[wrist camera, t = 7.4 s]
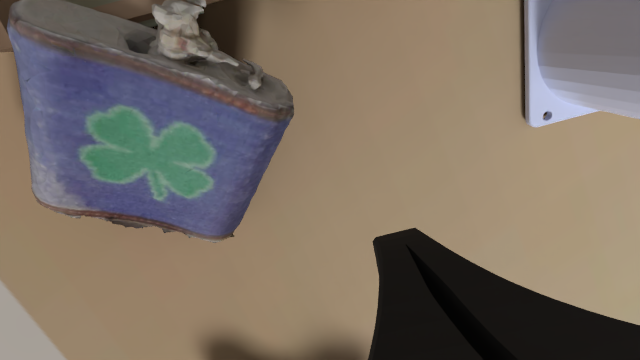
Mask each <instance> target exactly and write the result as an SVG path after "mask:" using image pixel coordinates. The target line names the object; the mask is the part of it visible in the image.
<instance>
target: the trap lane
mask: <svg viewBox="0 0 640 360" xmlns="http://www.w3.org/2000/svg"><path fill="white" fill-rule="evenodd" d="M18 1H20V0H0V52H14V51H13V47H12V44H11V41H10V38H9V35H8V30H7V24H8V19H9V10H10V7H11V5H12V4H13V3H15V2H18ZM64 1H67V2H70V3H73V4H77V5H80V6H84V7H87V8H91V9H94V10H96V11H99V12H103V13H106V14H110V15H113V16H117V17H120V18H123V19H126V20H130V21H133V22H137V23H140V24H142V25H145V26H147V27H154V26H158V24H157V23H156V22H155V17H154V16H153V14H152V5H153V4H158V5H162V4H163V2H164V1H165V0H64ZM181 1H184V2H187V1H186V0H181ZM205 1H206V5H207V4H210V3H214V2H218V1H222V0H205ZM187 3H188V2H187ZM193 5H196V6H199V7H201V8H202V6H200V5H198V4H193ZM202 9H203V8H202ZM203 13H204V11H201V12H199V14H203Z"/></svg>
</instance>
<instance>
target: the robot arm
mask: <svg viewBox="0 0 640 360" xmlns="http://www.w3.org/2000/svg"><path fill="white" fill-rule="evenodd" d="M524 22H525V118H526V123H527V124H528V125H530V126H533V127H539V126H543V125H547V124H551V123H554V122H558V121H562V120H566V119H570V118H573V117H577V116H581V115H585V114H589V113H592V112H596V111H605V112H609V113H614V114H619V115H623V116H628V117H632V118H637V119H640V0H524ZM545 112H547V116H546V117H545V118H544V119H543V114H544V113H545ZM373 246H374V251H375V256H376V262H377V267H378V272H379V297H378V309H377V317H376V324H375V330H374V335H373V340H372V345H371V349H370V354H369V358H368V360H640V325H636V324H632V323H628V322H625V321H621V320H617V319H614V318H610V317H607V316H604V315H600V314H597V313H594V312H590V311H587V310H584V309H581V308H578V307H575V306H573V305H570V304H567V303H564V302H561V301H558V300H555V299H552V298H550V297H547V296H544V295H542V294H539V293H537V292H534V291H532V290H529V289H527V288H525V287H522V286H520V285H517V284H515V283H513V282H510V281H508V280H506V279H504V278H502V277H499V276H497V275H495V274H493V273H491V272H489V271H488V270H486V269H484V268H482V267H480V266H478V265H476V264H474V263H472V262H470V261H468V260H467V259H465V258H463V257H461V256H460V255H458V254H456V253H454V252H453V251H451V250H449V249H448V248H446V247H445V246H443V245H441V244H440V243H438V242H436V241H435V240H433V239H432V238H430V237H429V236H427V235H425V234H424V233H422V232H421V231H419V230H418V229H416V228H412V229H408V230H403V231H399V232H395V233H391V234H387V235H383V236H379V237H376V238H375V239H374V240H373Z"/></svg>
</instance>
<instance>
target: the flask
mask: <svg viewBox="0 0 640 360" xmlns="http://www.w3.org/2000/svg"><path fill="white" fill-rule="evenodd" d="M186 1H187V2H188V3H187V2H184V1H181V0H165V1H164V2H163V4H162V5H158V4H153V5H152V14H153V16H154V17H155V22H156V23H157V24H158V29H154V28H150V27H147V26H145V25H142V24H140V23H137V22H133V21H130V20H126V19H123V18H120V17H117V16H113V15H110V14H106V13H103V12H99V11H96V10H94V9H91V8H87V7H84V6H80V5H77V4H73V3H70V2H67V1H64V0H20V1H18V2H15V3H13V4H12V5H11V7H10V10H9V19H8V24H7V30H8V35H9V38H10V41H11V44H12V47H13V51H14V55H15V60H16V65H17V71H18V78H19V83H20V91H21V99H22V104H23V108H24V115H25V134H26V140H27V143H28V149H29V157H30V169H31V179H32V191H33V194H34V196H35V198H36V199H37V202H38V203H40V204H41V205H42V206H44V207H46V208H49V209H51V210H53V211H55V212H57V213H61V214H65V215H68V216H70V217H75V218H81V215H85V216H91V217H94V218H99V219H104V220H106V221H112V223H113V224H120V225H123V226H125V227H134V228H141V227H142V228H143V226H144V227H150V226H155V227H156V226H157V227H159V228H162V230H163V231H164V233H166V232H174V231H177V232H182V233H184V234H185V235H187V236H189V238H190V237H196V238H200V239H202V240H207V241H210V242H213V243H216V242H220V241H223V240H224V239H227V238H228V237H234V235H233V232H234V230H235V229H236V228H237V226H238V225H239V224H240V222H241V220H242V218H243V216H244V214H245V212H246V210H247V208H248V206H249V203H250V201H251V199H252V197H253V195H254V194H255V192H256V190H257V187H258V184H259V182H260V180H261V178H262V176H263V174H264V172H265V171H266V169H267V167H268V165H269V162H270V160H271V157H272V156H273V154H274V152H275V151H276V148H277V146H278V145H279V143H280V141H281V139H282V136H283V134H284V131H285V129H286V128H287V126H288V125H289V123H290V120H291V119H292V117H293V115H294V107H293V96H292V95H291V94H290V92H289V90H288V89H287V86H286V85H285V84H284V83H283V82H282V81H281V80H279V79H277V78H275V77H273V76H270V75H268V74H266V73H264V72H263V69H262V67H261V66H259V65H257V64H256V63H253V62H251V61H248V60H245V59H242V60H243V61H244V62H246V63H247V64H249V65H250V66H251V67H250V66H248V65H246V64H244V63H242V62H240V61H238V60H236V59H234V58H232V57H231V56H229V55H227V54H225V53H224V52H222V51H219V50H218V46H217V43H216V42H215V40H214V39H213V38H212V37H211V35H210V34H209V32H208V31H207V30H204V29H201V28H199V27H198V23H197V21H196V19H197V18H198V15H199V12H201V11H204V9H202V8H201V7H199V6H196V5H193V4H198V5H200V6H202V7H206V1H205V0H186Z"/></svg>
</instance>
